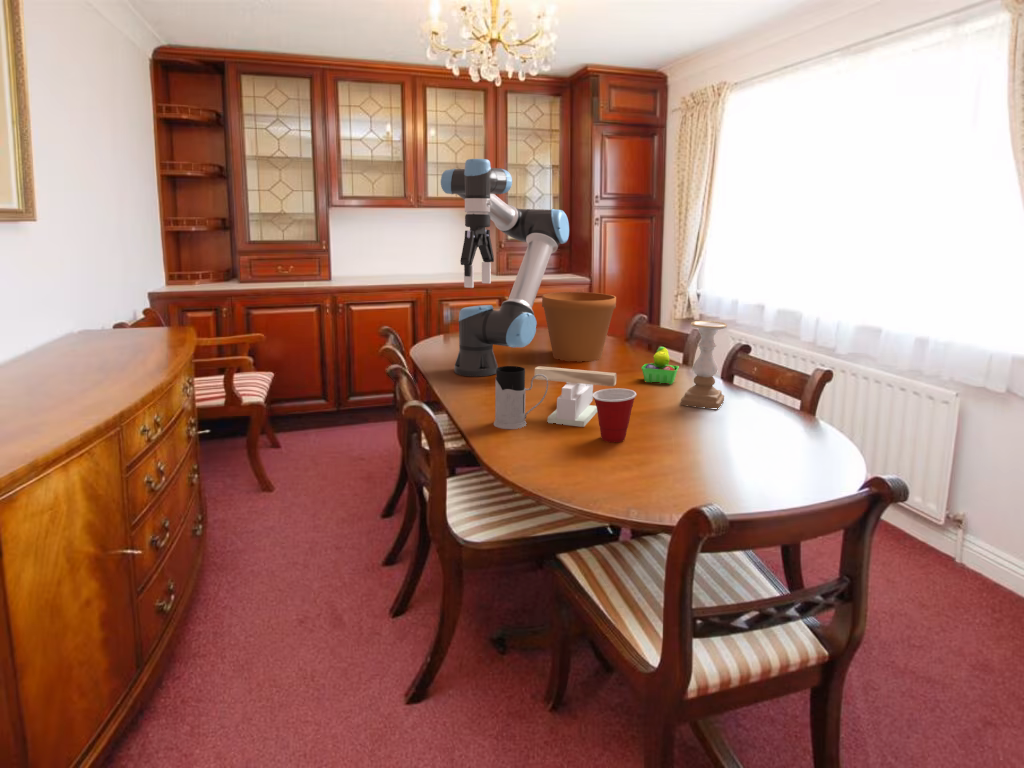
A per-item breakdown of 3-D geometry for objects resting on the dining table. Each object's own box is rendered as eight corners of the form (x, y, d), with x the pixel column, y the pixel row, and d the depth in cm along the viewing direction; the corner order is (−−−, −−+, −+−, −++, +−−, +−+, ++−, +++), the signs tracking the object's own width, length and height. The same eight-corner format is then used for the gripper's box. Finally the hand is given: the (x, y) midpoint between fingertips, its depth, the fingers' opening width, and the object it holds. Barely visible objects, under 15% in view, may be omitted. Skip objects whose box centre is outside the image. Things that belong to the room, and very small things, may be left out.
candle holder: (724, 401, 208) (731, 322, 202) (718, 410, 199) (725, 327, 193) (687, 396, 213) (693, 319, 207) (680, 405, 203) (685, 324, 197)
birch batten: (538, 376, 193) (538, 366, 193) (615, 384, 186) (616, 373, 185) (534, 379, 191) (534, 368, 190) (613, 386, 183) (614, 375, 183)
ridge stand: (563, 407, 200) (564, 373, 197) (597, 411, 196) (599, 376, 194) (547, 422, 185) (548, 386, 183) (583, 427, 182) (585, 390, 179)
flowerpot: (536, 362, 258) (537, 299, 252) (545, 348, 285) (546, 291, 279) (612, 366, 254) (615, 302, 248) (614, 351, 281) (616, 293, 275)
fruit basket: (639, 382, 230) (641, 349, 227) (645, 376, 238) (647, 344, 235) (674, 386, 226) (677, 352, 223) (679, 380, 234) (681, 347, 231)
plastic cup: (586, 432, 177) (588, 387, 174) (628, 431, 178) (630, 386, 175) (594, 446, 167) (596, 398, 164) (639, 445, 168) (641, 398, 165)
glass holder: (494, 419, 188) (494, 365, 184) (546, 420, 188) (548, 365, 184) (492, 428, 180) (492, 372, 176) (547, 429, 179) (548, 373, 175)
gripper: (472, 213, 193) (473, 289, 198) (504, 213, 216) (503, 282, 221) (448, 213, 196) (449, 288, 201) (482, 213, 219) (482, 281, 224)
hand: (477, 285), depth 211 cm, fingers open, 13 cm apart
